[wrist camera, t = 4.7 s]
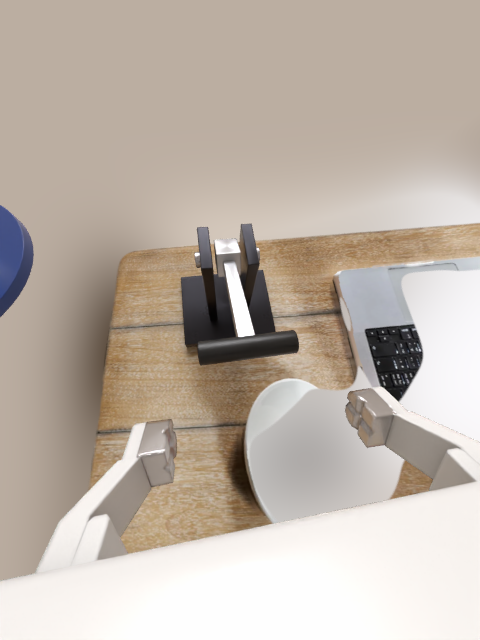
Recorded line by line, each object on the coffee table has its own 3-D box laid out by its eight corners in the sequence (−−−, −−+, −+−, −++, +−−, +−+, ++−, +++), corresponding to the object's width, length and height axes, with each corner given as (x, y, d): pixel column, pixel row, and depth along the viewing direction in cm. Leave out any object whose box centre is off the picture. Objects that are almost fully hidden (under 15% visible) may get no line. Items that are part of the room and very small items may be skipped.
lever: (295, 361, 15) (302, 337, 13) (201, 374, 14) (196, 350, 13) (255, 258, 24) (255, 236, 23) (196, 263, 24) (193, 241, 22)
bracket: (274, 336, 32) (306, 288, 19) (186, 347, 31) (158, 304, 18) (261, 274, 36) (282, 198, 23) (182, 281, 34) (156, 205, 22)
